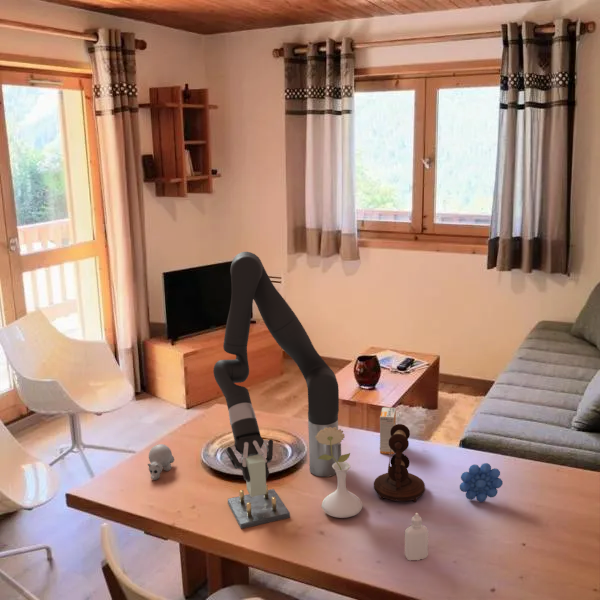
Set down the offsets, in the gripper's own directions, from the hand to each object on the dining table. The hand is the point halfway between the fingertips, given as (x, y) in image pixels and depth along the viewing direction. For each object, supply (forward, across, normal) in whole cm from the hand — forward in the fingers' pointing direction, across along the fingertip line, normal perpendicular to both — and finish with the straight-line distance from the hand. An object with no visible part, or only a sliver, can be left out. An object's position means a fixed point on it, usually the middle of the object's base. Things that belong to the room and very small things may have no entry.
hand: (257, 479), depth 188 cm
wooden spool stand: (+11, +41, +3) cm, 43 cm away
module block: (+2, 0, +4) cm, 5 cm away
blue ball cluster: (+20, +60, -6) cm, 64 cm away
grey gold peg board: (+6, 0, +8) cm, 11 cm away
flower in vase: (+13, +21, +2) cm, 25 cm away
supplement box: (-7, +51, +22) cm, 56 cm away
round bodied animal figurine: (-17, -22, +33) cm, 43 cm away
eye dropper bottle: (+32, +30, -17) cm, 47 cm away
